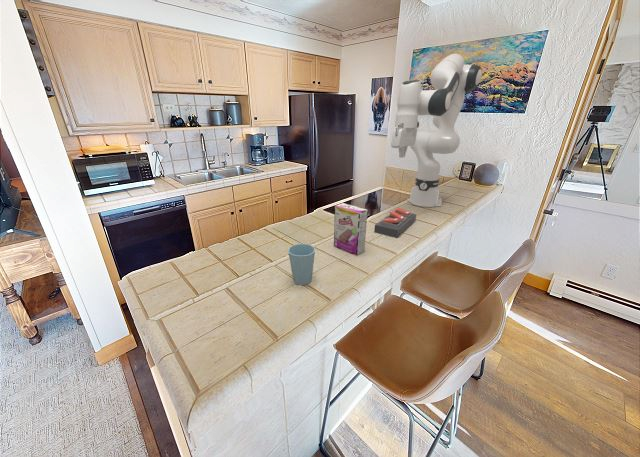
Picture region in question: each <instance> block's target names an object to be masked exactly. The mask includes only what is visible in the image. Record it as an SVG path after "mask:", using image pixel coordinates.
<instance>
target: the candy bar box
mask: <svg viewBox="0 0 640 457" xmlns="http://www.w3.org/2000/svg"><path fill="white" fill-rule="evenodd" d="M368 211H369V210H368V209H366V208H362V207H359V206H355V205H351V204H348V203H344V202H342V203H339V204H336V205H334V222H333V223H334V227H333V228H334V229H333V231H334V232H333V247H334V248H337V249H339V250H342V251H344V252H346V253H347V252H348V253H350V254H352V255H355V256H359V255H361V254H362V253H364V252H365V251H366V250H365V248H366V232H367V220H368Z"/></svg>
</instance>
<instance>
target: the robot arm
mask: <svg viewBox="0 0 640 457" xmlns="http://www.w3.org/2000/svg"><path fill="white" fill-rule="evenodd" d="M482 75H483V68H482V67H481V65H478V64H465V60H464V57H463V56H462V55H461V54H459V53H452V54H449V55H447V56H446V57H444V58H443V59H441V61H439V63H438V64H436V65H435V67H434V68H433V69H432V71H431V74H430V78H429V79H430V80H429V81H430V84H431V86H432V87H433V88H434V89H429V90H428V89H427V90H423V89H422V82H421V80H419V79H413V80H411V79H410V80H406V81H403V82H401V83H400V87H399V90H398V96H397V104H396V106H397V112H396V114H395V120H394V122H395V123H394V129H393V132H392V136H391V148H392V149H398V153H399V154H398V157H399V158H405V157H406V153H407V150H408V147H410V149H411V150H412V151H413V152H414V154H415V155H416V159H417V174H416V175H417V176H416V178H415V181H414V182H415V185H414V186H412V188H411V192H410V196H409V197H408V198H407V199H406V201H407V202H408V203H410V204H412V205H414V206H417V207H424V208H431V207H433V208H434V207H442V202H443V198H441V196H439V194H440V189H439V183H440V171H441V165H440V163H439V162H438V161H437V160H436V159H435V158H434V154H437V155H438V154H439V155H446V154H453V153H454V152H456V151H457V150H458V149H459V146H460V143H461V142H460V141H461V140H460V135H459V134H458V133H457V132H456V131H455V125H456V122H457V119H458V116H459V114H460V113H461V110H462V108H463V106H464V101H465V98H466V95H465V94H470V93H471V92H472V91H473V90H474V89H476V88H477V86H479V83H480V82H481V79H482ZM419 116H433V118H432V122H433V125H434V127H436V128H437V129H436V130H420V131H418V128H420V121H419V119H418V118H419Z"/></svg>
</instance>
